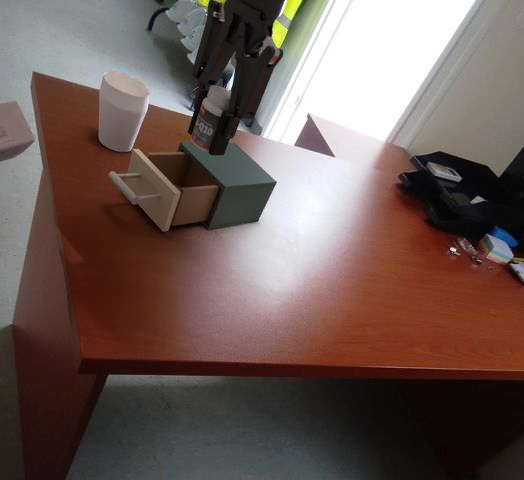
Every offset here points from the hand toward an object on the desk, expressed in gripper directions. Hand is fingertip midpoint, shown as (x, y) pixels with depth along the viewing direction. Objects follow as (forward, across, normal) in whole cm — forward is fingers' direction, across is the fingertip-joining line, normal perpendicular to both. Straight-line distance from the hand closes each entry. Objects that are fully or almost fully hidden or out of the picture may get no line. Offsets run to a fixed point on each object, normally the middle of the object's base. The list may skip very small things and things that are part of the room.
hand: (205, 143), depth 72 cm
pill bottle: (+1, 0, 0) cm, 1 cm away
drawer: (+16, +5, 0) cm, 17 cm away
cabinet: (+17, +6, -14) cm, 23 cm away
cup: (+17, +27, -4) cm, 32 cm away
